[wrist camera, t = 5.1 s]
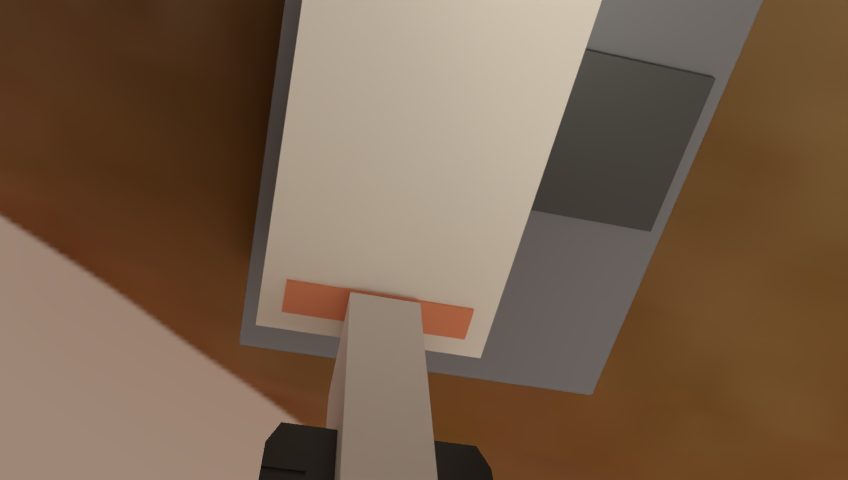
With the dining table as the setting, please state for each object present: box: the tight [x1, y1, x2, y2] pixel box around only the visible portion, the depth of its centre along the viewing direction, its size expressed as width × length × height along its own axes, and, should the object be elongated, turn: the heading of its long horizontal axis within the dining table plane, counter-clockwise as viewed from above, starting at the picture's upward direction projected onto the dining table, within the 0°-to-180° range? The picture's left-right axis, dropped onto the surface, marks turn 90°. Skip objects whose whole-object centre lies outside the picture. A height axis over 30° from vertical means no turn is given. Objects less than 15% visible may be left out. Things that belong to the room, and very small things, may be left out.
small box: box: [256, 0, 602, 358], centre depth 15 cm, size 9×5×2 cm, turn 167°
